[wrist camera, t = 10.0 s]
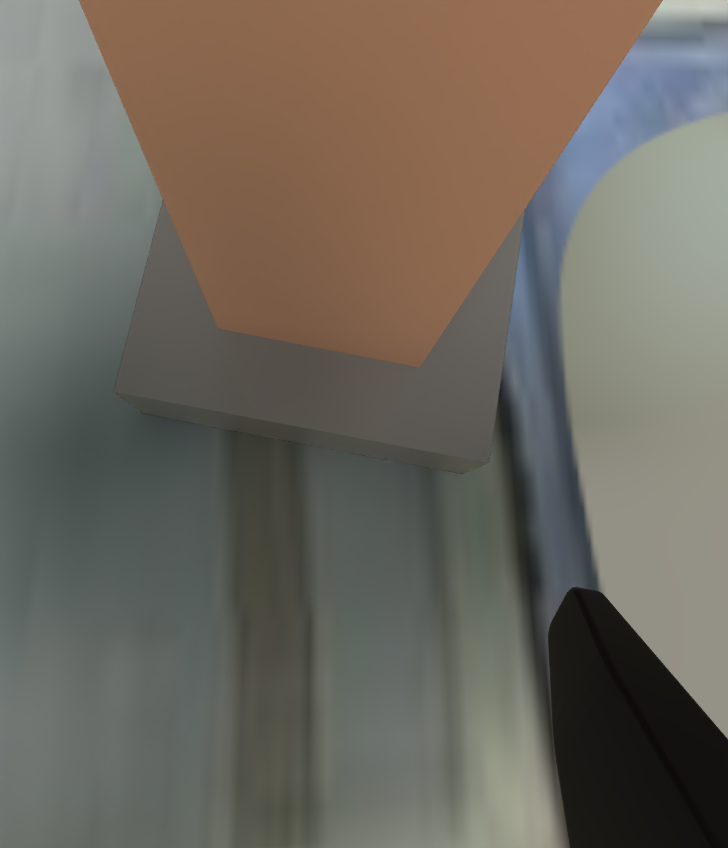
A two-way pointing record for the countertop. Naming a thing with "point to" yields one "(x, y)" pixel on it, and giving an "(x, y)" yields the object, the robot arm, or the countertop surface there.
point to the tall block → (354, 146)
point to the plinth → (319, 371)
